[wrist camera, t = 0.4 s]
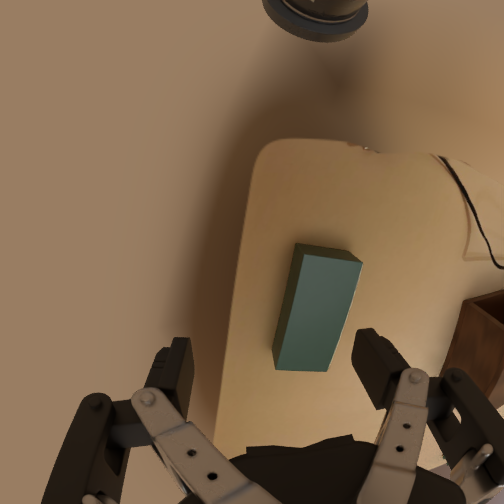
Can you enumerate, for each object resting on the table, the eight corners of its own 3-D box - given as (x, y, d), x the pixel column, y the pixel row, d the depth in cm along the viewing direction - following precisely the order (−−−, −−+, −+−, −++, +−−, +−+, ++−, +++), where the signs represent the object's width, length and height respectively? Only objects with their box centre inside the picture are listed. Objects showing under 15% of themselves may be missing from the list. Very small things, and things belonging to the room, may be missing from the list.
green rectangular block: (295, 242, 26) (304, 253, 23) (350, 251, 26) (365, 262, 23) (271, 349, 29) (275, 370, 26) (320, 352, 30) (328, 371, 26)
